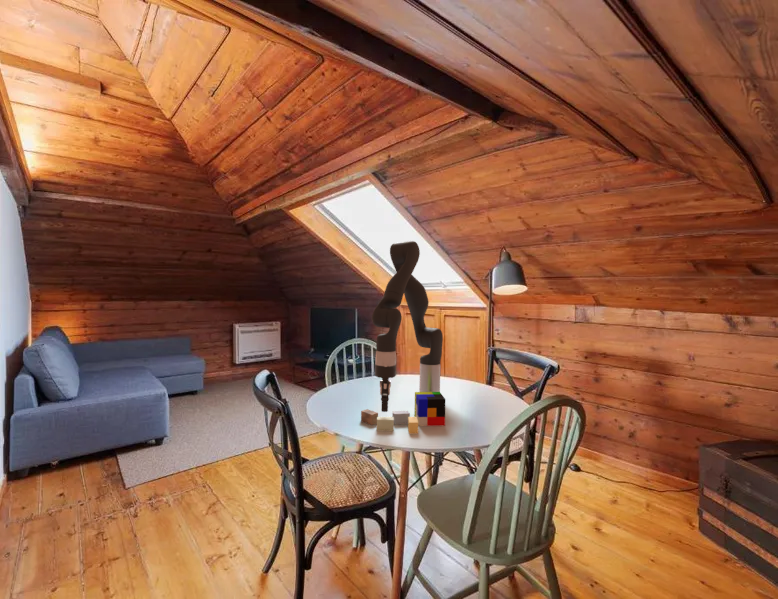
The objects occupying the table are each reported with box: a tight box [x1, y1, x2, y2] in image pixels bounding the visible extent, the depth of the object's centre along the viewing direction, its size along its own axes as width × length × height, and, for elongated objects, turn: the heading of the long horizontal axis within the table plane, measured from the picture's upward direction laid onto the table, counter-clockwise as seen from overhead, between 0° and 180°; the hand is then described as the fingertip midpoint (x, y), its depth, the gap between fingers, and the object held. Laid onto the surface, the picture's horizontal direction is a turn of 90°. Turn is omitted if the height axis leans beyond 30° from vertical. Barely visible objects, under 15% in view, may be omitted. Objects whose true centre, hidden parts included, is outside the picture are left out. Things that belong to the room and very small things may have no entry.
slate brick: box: [391, 410, 411, 425], centre depth 150 cm, size 6×3×4 cm, turn 101°
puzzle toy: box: [413, 391, 446, 427], centre depth 152 cm, size 10×10×10 cm
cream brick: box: [376, 416, 395, 432], centre depth 143 cm, size 6×3×4 cm, turn 90°
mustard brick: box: [407, 416, 419, 434], centre depth 142 cm, size 6×3×4 cm, turn 1°
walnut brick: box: [360, 408, 379, 426], centre depth 150 cm, size 6×3×4 cm, turn 45°
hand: (384, 407), depth 142 cm, fingers open, 8 cm apart
